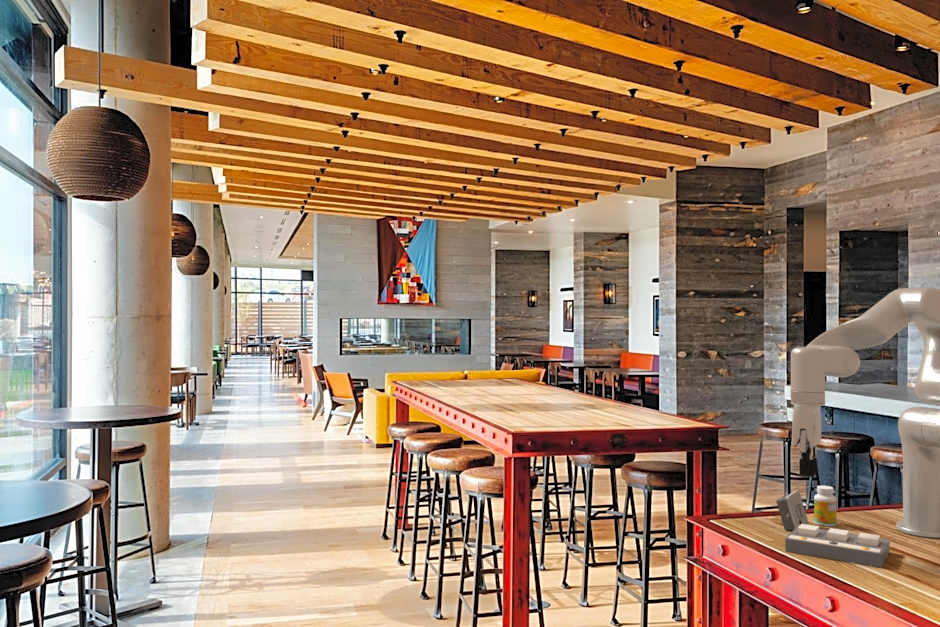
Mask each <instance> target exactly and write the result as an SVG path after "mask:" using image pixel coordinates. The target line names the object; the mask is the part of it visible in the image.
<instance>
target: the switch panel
mask: <svg viewBox="0 0 940 627" xmlns="http://www.w3.org/2000/svg"><path fill="white" fill-rule="evenodd" d="M798 527H799V526H797V527H796V528H795V529H794V530H791V532H790V533H789V534H788V535H787V536H786V537H785V538H784V540H785V542H784V543H785V544H784V546H785V552H787V551H788V553H793V554H799V555H804V556H810V557H811V556H812V557H816V556H817V557H818V558H822V557H825V558H824V559H828V558H831V559H830V560H833V559H837V560H836V561H839V560H842V561H841V562H845V561H848V562H847V563H851V562H854V563H853V564H857V563H858V565H862V564H865V565H864V566H868V565H872V566H871V567H874V566H877V567H876V568H880V567H882V568H883V566H884V564H885V562H886V560H887V558H888V557H889V555H888V554H890V553H889V552H890V551H891V550H890V547H891V546H890V544H891V542H890V539H888V538H884V537H883V538H882V537H880V546H879V547H875V546H869V545H862V544H858V536H859V535H860V534H856V533H850V532H849V540H848V542H843V541H837V540H831V539H827V532H828V531H829V529H824V528H823V529H822V528H819V535H818V536H817V537H812V536H806V535H799V534H798Z"/></svg>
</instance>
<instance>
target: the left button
mask: <svg viewBox="0 0 940 627" xmlns="http://www.w3.org/2000/svg"><path fill="white" fill-rule="evenodd" d="M819 529H820V525H811V524H809V525H806V524H801V525H800V526H799V527H798V534H799V535H806V536H812V537H817V536H818V535H819Z"/></svg>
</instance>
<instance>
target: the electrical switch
mask: <svg viewBox="0 0 940 627" xmlns="http://www.w3.org/2000/svg"><path fill="white" fill-rule="evenodd" d="M775 503H776V505H777V508H778V512H779V514H780V519H781V522H782V525H783V528H784V531H785V530H787V531H793V530H794V529H795V528H796V527H797V526H800V525H801V524H806V525H810V524H809V523H810V522H809V519H808V516H807V512H806V509H805V507H804V503H803V499H802V496H801V493H800V491H799V490H794V491H792V492H791V493H789V494H784V495H783V496H781V497H780V498H778V499H776V502H775Z"/></svg>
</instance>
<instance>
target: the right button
mask: <svg viewBox="0 0 940 627" xmlns="http://www.w3.org/2000/svg"><path fill="white" fill-rule="evenodd" d="M858 535H859V536H858V544H862V545H869V546H875V547H879V546H880V538H881V535H879V534H872V533H865V532H860V533H859V534H858Z"/></svg>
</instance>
